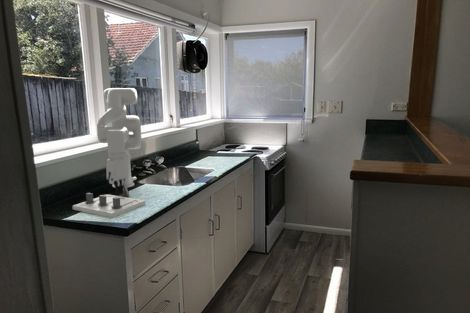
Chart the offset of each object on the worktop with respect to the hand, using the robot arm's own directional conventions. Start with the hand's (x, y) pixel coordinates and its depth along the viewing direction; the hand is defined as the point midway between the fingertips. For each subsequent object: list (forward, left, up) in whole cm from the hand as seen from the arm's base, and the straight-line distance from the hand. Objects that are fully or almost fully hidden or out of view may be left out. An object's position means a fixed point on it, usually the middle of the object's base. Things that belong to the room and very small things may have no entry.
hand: (119, 193), depth 175 cm
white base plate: (-1, -9, -8) cm, 12 cm away
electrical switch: (-19, -18, -9) cm, 28 cm away
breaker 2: (+3, -9, -6) cm, 11 cm away
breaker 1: (+3, -18, -6) cm, 19 cm away
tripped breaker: (+3, 0, -6) cm, 7 cm away
